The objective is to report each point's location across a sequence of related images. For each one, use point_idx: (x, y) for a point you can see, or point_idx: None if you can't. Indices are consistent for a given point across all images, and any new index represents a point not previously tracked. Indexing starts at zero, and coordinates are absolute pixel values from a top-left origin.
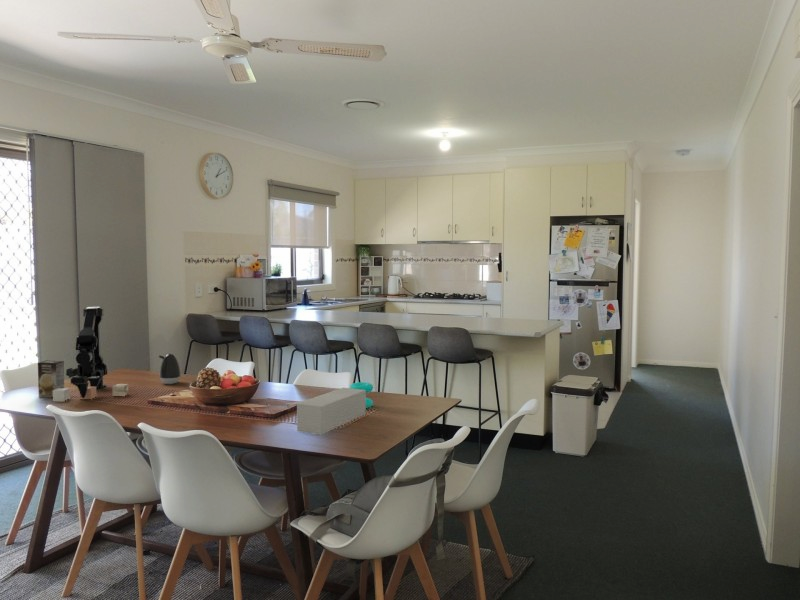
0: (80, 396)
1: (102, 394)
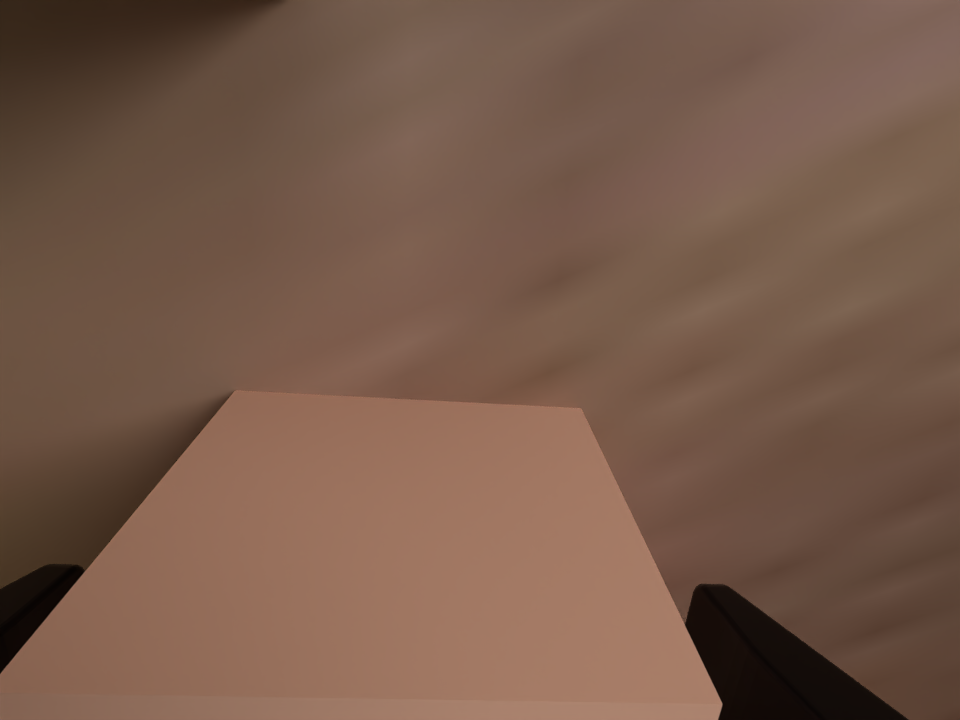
0: (202, 454)
1: (844, 669)
